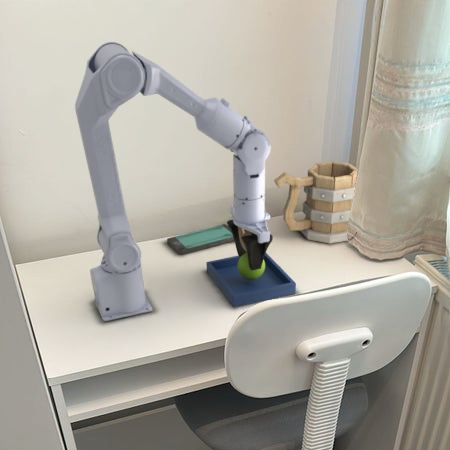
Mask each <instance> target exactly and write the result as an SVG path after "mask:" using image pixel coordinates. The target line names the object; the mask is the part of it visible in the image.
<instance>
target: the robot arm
mask: <svg viewBox="0 0 450 450" xmlns="http://www.w3.org/2000/svg"><path fill="white" fill-rule="evenodd" d="M139 93H141V95H142V96H143V97H147V96H153V95H159V96H160V97H162V98H163V99H165V100H167V101H168V102H170V103H171V104H173V105H174V106H176V107H177V108H179V109H181V110H182V111H184V112H185V113H187V114H189V115H190V116H192V117H194V120H195V121H194V122H195V126H196V129H197V130H198V131H199V132H201V133H202V134H204V135H205V136H207V137H208V138H209V139H211V140H213V141H214V142H216V143H217V144H219V145H220V146H222V147H223V148H224V149H226V150H229V151H230V152H231V153H234V154H233V155H232V162H233V164H232V165H233V166H232V181H233V182H232V185H233V186H232V187H233V203H231V204H230V215H232V219H228V220H227V221H226V225H228V226H229V228H230V230H231V232H232V235H233V238H234V241H233V242H234V245H235V249H236V254H237V256H239V257H241V256H242V255H243V254H245V253H247V255H248V262H249V267H250V269H251V270H256V269H261V267H262V263H263V259H264V256H265V253H267V250H268V248H269V246H270V245H271V243H272V242H273V240H274V236H273V235H272V234H271V231H270V230H269V229H268V224H267V220H271V214H269V213H268V212H267V211H266V209H265V208H266V206H265V205H266V160H267V159H268V157H269V155H270V154H271V150H272V145H271V144H270V142H269V139H268V138H269V137H268V136H267V134H266V133H265V132H264V131H263V130H261V129H260V128H258V126H256V125H255V124H253V123H252V119H251V118H249V117H248V116H247V115H244V116H242V115H241V114H239V113H238V112H236V111H235V110H234V109H232V108H231V107H230V106H231V103H230V102H229V101H228V100H226V99H225V98H223V97H221V99H219V98H217V97H209V98H206V99H204V98H202V97H201V96H199V95H198V94H197V93H196V92H194V90H191V89H190V88H189V87H188V86H187V85H185V84H184V83H182V82H181V81H180V80H178V79H177V78H176V77H175V76H173V75H172V74H170V73H169V72H168V71H167V70H165V69H164V68H162V67H161V66H160V65H158V64H157V63H155V62H154V61H152V60H151V59H148V58H146V57H145V56H143V55H141V54H139V53H137V52H135V51H133V50H131V53H130V51H129V49H128V48H126V47H125V46H124V45H123V44H121V43H119V42H116V41H108V42H104V43H102V44H101V45H99V46H98V48H97V49H96V50H95V51H94V52H93V54H92V55H91V56H90V57H89V58H88V60H87V61H86V67H85V72H84V76H83V78H82V82H81V85H80V87H79V91H78V94H77V97H76V100H75V104H74V109H75V115H76V120H77V123H78V128H79V132H80V138H81V142H82V146H83V150H84V154H85V160H86V164H87V170H88V173H89V178H90V182H91V187H92V191H93V196H94V200H95V204H96V209H97V221H98V230H97V234H96V240H97V243H98V245H99V246H100V248H101V251H102V253H103V255H102V258H101V261H100V264H99V265H98V266H96V267H93V268H90V270H89V272H90V279H91V284H92V285H91V286H92V291H93V295H94V296H93V297H94V298H93V299H94V303H95V307H96V308H97V310H98V313H99V314H100V317H101V319H102V321H103V322H109V321H113V320H118V319H122V318H126V317H131V316H136V315H140V314H141V315H142V314H145V313H149V312H152V311H153V307H152V305H151V303H150V302H149V300H148V298H147V296H146V291H145V284H144V275H143V267H142V260H141V259H142V251H141V248H140V246H139V244H138V243H137V242H136V240H135V238H134V237H133V232H132V228H131V226H130V222H129V219H128V215H127V210H126V206H125V200H124V196H123V195H124V194H123V190H122V184H121V179H120V174H119V169H118V163H117V159H116V154H115V147H114V143H113V139H112V131H111V128H110V127H111V126H110V123H109V120H110V119H111V117H112V116H113V115H114V114H115V112H116V111H117V110H118V108H119V107H120V106H122V105H124V104H125V103H127V102H128V101H130V100H131V99H134V97H136V96H137V95H138V94H139ZM238 226H239V227H241V228H243V229H244V232H245V231H246V230H247V231H250V232H252V235H247V236H242V237H241V239H242V240H243V242H244V244H245V247H246V250H247V252H246V251H245V250H244V248H243V247H242V245H241V242H240V238H239V230H238Z"/></svg>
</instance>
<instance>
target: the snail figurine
mask: <svg viewBox="0 0 450 450" xmlns="http://www.w3.org/2000/svg"><path fill="white" fill-rule="evenodd" d="M238 230H239V238H240V242H241V245H242V247H243V248H244V250H245V251H246V252H247V250H246V247H245V244H244V242H243V240H242V239H241V237H242V236H247V235H252V232H250V231H247V230H246V231H245V232H244V229H243V228H241V227H239V226H238ZM264 270H265V262H264V259H263V263H262V267H261V269H256V270H251V269H250V267H249V262H248V255H247V253H245V254H243V255H242V256H241V257H240V259H239V261H238V271H239V273H240V275H241V276H242V277H243V278H245V279H248V280H255V279H257V278H259V277H260V276H261V275H262V274H263V272H264Z"/></svg>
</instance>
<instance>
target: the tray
mask: <svg viewBox="0 0 450 450" xmlns="http://www.w3.org/2000/svg"><path fill="white" fill-rule="evenodd" d="M239 259H240V257H239V256H238V255H235V256H234V255H233V256H229V257H224V258H219V259H214V260H209V261H206V262H205V264H206V273H207V274H208V276H209V277H210V278H211V279H212V281H213V282H214V283H215V285H216V286H217V287H218V289H219V290H220V291H221V293H222V294H223V296H224V297H225V298H226V299H227V300H228V302H229V303H230V305H232V307H233V308H237V307H242V306H246V305H250V304H255V303H259V302H260V303H261V302H264V301H269V300H274V299H278V298H283V297H286V296H291V295H296V290H297V289H296V287H297V283H296V282H295V280H294V279H292V277H291V276H290V275H288V274H287V272H286V271H284V269H283V268H282V267H281V266H280V265H279V264H278V263H277V262H276V261H275V260H274V259H273V258H272V257H271V256H270V255H269V253H267V252H266V253H265V256H264V262H265V270H264V272H263V274H262V275H261V276H260V277H259V278H257V279H255V280H248V279H245V278H243V277H242V276H241V275H240V273H239V271H238V261H239Z"/></svg>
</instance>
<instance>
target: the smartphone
mask: <svg viewBox="0 0 450 450" xmlns="http://www.w3.org/2000/svg"><path fill="white" fill-rule="evenodd" d="M231 242H235V241H234V238H233V235H232V232H231V230H230V228H229V226H228V225H227V223H223V224H219V225H215V226H211V227H207V228H203V229H199V230H196V231H191V232H188V233H184V234H183V233H182V234H180V235H175V236H171V237H168V238H167V239H166V244H167V245H168V246H169V247H170V249H172V250H173V251H174V252H175V253H176V254H177V255H179V256H183V255H187V254H190V253H194V252H197V251H201V250H205V249H209V248H212V247H216V246H220V245H224V244H228V243H231Z"/></svg>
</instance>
